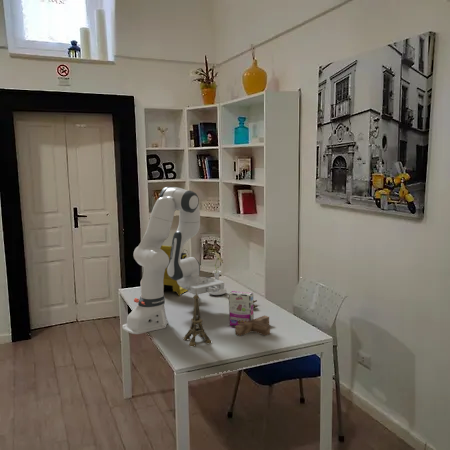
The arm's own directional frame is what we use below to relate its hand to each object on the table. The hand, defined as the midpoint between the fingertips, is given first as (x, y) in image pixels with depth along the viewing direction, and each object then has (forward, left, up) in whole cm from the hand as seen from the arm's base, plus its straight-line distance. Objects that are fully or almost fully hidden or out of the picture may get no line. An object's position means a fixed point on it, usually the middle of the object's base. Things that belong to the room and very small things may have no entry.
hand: (216, 290), depth 231 cm
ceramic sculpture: (+21, +2, -15) cm, 26 cm away
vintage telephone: (+12, +52, -14) cm, 55 cm away
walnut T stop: (+1, -28, -14) cm, 32 cm away
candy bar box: (+1, -17, -14) cm, 22 cm away
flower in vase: (+28, +31, -14) cm, 44 cm away
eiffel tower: (-26, -16, -15) cm, 34 cm away
